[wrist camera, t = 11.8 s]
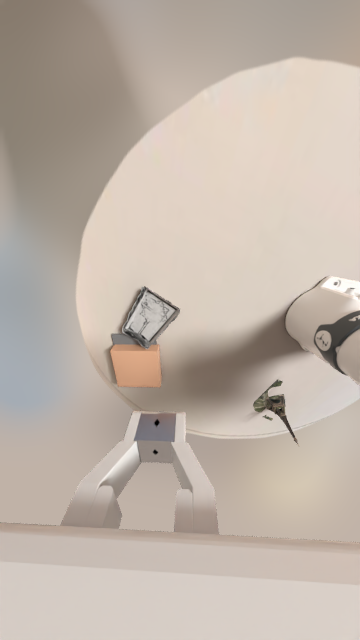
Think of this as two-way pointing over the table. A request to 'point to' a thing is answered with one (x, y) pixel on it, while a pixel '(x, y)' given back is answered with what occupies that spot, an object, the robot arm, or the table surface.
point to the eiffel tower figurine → (273, 405)
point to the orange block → (137, 365)
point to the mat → (126, 340)
